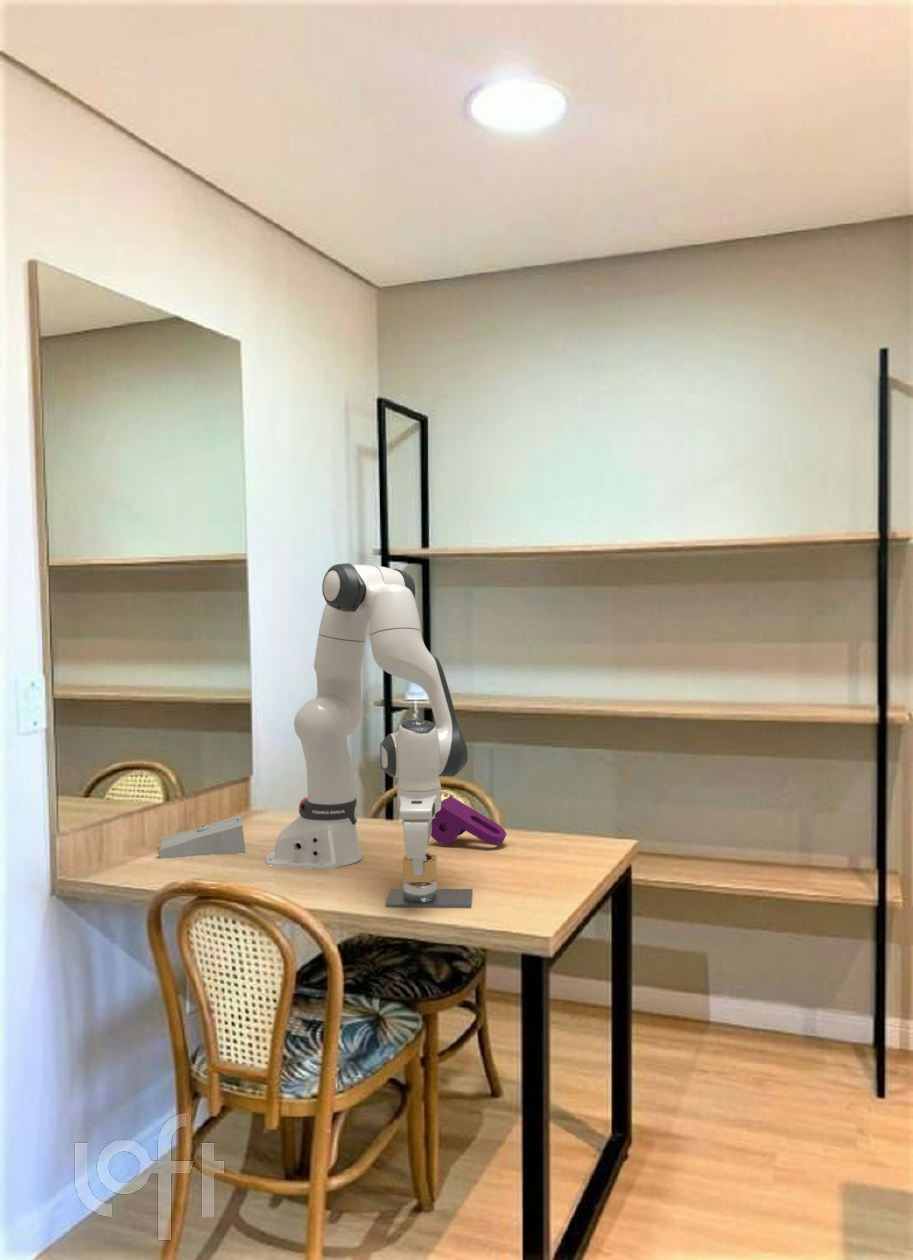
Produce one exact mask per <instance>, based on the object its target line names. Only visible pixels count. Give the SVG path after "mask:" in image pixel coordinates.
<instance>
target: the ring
mask: <svg viewBox="0 0 913 1260" xmlns="http://www.w3.org/2000/svg"><path fill="white" fill-rule="evenodd" d="M425 856H426V857H427V860H426V861H423V874H422V875H421V876H415V875H414V867H413V862H412V859H408V858H407V856H406V854H405V855H403V858H402V877H403V878H402V880H403V881H404V880H407V881H410V882H428V881H432V880H436V879H437V875H438V874H437V872H438V869H437V868H438V867H437V866H438V865H437V864H438V862H437V861H438V859H437V855H436V854H432V853H429V852H426V855H425Z"/></svg>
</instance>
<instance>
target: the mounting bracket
mask: <svg viewBox="0 0 913 1260" xmlns="http://www.w3.org/2000/svg"><path fill="white" fill-rule="evenodd" d="M465 832H467V833H469V834H471V835H472V836H474V837H475V838H477V839H478V840H480V841H483V842H484V843H487V844H490V845H494V846H500V845H502V844H503V842H504V840H505V839H506V836H507V832H506V831H505V829H504V828H503V827H502V826H501V825H499V824H498V823H497V822H495V821H493V820H491V819H490V818H488V816H487V817H486V816H485V815H484V814H482V813H480V812H478V811H476V809H473V808H472V807H471V806H469V805H467V804H465V803H463V802H462V801H460V800H458V799H457V798H455V797H454V796H452V795H450V796H448V797H447V798H445V799H443V800H441V810H440V811H438V812H437V813H436V814H435V818H434V819H432V833H431V838H433V840H434V841H436V842H438V843H440V844H449V843H451V842H452V841H454V840H455V839H457V838H458V837H459V836H461V835H462V834H464V833H465Z"/></svg>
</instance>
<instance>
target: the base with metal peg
mask: <svg viewBox="0 0 913 1260" xmlns="http://www.w3.org/2000/svg"><path fill="white" fill-rule="evenodd" d="M426 860H427V857H426V856H425V858H424V859H423V861H426ZM437 885H438V883H437V880H436V879H435V880H432V881H428V882H410V881H407V880H404V879H403V881H402V888H390V891H389V893H388V896H387V898H386V902H385V904H384V905H385V906H384V907H385V908H408V909H409V908H411V909H412V908H414V909H415V908H417V909H418V908H419V909H420V908H423V909H424V908H425V909H472V903H473V895H474V893H473V892H474V890H473V888H437Z"/></svg>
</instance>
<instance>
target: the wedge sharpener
mask: <svg viewBox="0 0 913 1260" xmlns="http://www.w3.org/2000/svg"><path fill="white" fill-rule="evenodd" d="M243 827H244V826H243V819H242V814H240V815H237V816H233V817H229V818H226V819H222V820H220V821H217V822H214V823H211V824H203V825H200V826H198V827H197V828H193V829H190V830H186V831H182V832H178V833H176V834H175V833H174V834H171V835H168V836H164V837H162V838H160V839H161V840H160V842H161V843H160V847H159V849H158V853H159V859H160V860H161V859H176V858H187V857H188V858H189V857H195V856H196V857H198V856H211V855H210V854H217V855H218V854H227V855H239V854H238V853H244V854H246V846H245V845H246V843H245V836H244V829H243Z"/></svg>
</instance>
